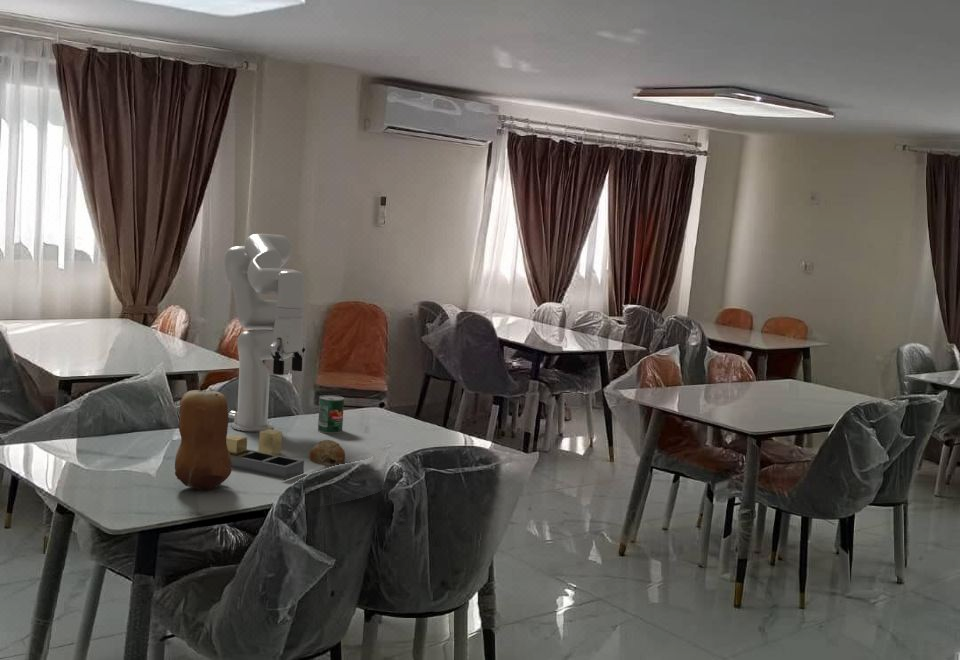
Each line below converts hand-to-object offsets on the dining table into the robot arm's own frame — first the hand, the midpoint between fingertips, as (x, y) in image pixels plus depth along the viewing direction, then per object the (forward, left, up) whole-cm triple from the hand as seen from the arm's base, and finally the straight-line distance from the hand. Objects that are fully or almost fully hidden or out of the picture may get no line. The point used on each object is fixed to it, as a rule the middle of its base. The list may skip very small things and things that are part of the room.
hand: (287, 372), depth 284 cm
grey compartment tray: (+5, -20, -24) cm, 31 cm away
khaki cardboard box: (-3, -20, -23) cm, 30 cm away
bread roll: (+15, -1, -24) cm, 28 cm away
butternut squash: (+5, -43, -24) cm, 49 cm away
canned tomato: (-4, +31, -24) cm, 39 cm away
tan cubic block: (-1, -6, -24) cm, 24 cm away
